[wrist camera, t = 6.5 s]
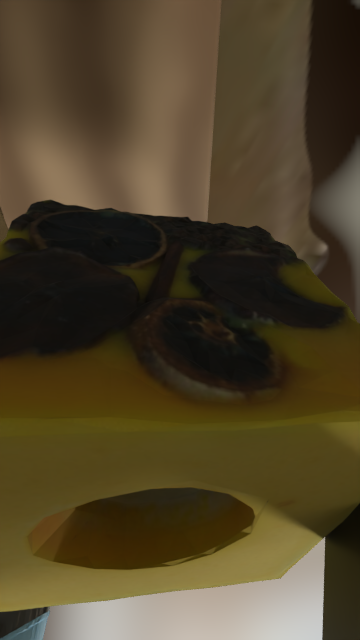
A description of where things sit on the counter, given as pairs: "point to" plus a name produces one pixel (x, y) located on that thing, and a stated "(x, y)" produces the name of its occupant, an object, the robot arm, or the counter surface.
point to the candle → (166, 406)
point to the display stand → (108, 104)
